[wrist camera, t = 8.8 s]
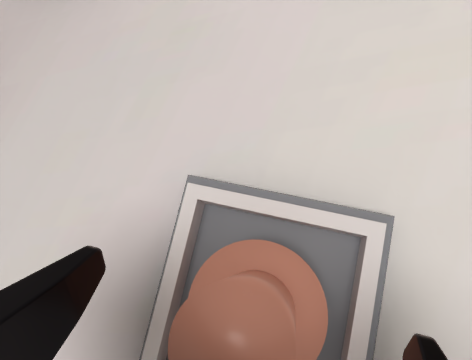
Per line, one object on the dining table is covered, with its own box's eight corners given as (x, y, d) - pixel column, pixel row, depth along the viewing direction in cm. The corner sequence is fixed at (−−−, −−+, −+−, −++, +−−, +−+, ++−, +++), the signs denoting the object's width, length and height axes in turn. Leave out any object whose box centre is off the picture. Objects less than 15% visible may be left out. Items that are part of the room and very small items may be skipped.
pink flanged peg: (221, 380, 17) (148, 509, 9) (191, 260, 19) (104, 267, 10) (340, 348, 17) (390, 453, 8) (299, 226, 18) (302, 204, 10)
